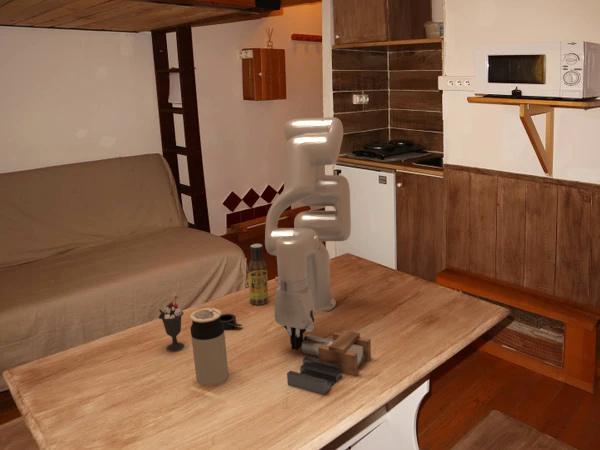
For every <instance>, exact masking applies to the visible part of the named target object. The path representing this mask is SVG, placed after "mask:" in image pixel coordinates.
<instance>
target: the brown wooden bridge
mask: <svg viewBox="0 0 600 450" xmlns="http://www.w3.org/2000/svg"><path fill="white" fill-rule="evenodd" d="M360 334H361V333H360V332H356V331H355V332H354V331H351V330H344V331H343V332H339V331H334V332H333V334H332V339H333V340H335V341H334V342H333V343H332V344H331V345H330V346H329V347H328V346H323V345H321V346H319V347H318V353H319V356H318V359H319V360H323V361H327V362H331V363H335V364H339V365H342V375H348V376H351V377H356V376H357V375H358V374H359V373H360V372H361V371H362V370H363V368H364V367H366V365H367V364H368V363H369V361H370V360H371V359H372V351H371V350H372V347H371V346H372V345H371V341H372V339H371V338H367V337H363V336H362V337H361V335H360ZM352 344H356V345H360V346H364V347H365V349H366V356H365V360H364V363H363V365H362V366H358V360H357V353H354V352H349V351H346V350H347V349H348V348H349V347H350V346H351V345H352Z"/></svg>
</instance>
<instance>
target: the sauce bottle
mask: <svg viewBox="0 0 600 450" xmlns="http://www.w3.org/2000/svg"><path fill="white" fill-rule="evenodd" d="M249 248H250V249H249V250H250V255H251V256H250V260H249V262H248V265H247V268H248V272H247V275H248V276H247V277H248V291H249V293H248V294H249V302H250V303H251V304H252V305H257V306H258V305H259V306H261V305H264V304H267V303H268V301H269V299H268V298H269V286H268V270H267V263H266V261H265V260H264V257H263V250H264V247H263V244H261V243H253V244H251V245H250V247H249Z"/></svg>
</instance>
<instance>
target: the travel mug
mask: <svg viewBox="0 0 600 450" xmlns="http://www.w3.org/2000/svg"><path fill="white" fill-rule="evenodd" d="M221 315H222V311H221V310H220V309H218V308H215V307H205V308H200V309H197V310H195V311H193V312H192V313H191V314H190V316H189V319H190V320H191V322H192V324H191V326H190V328H189V330H190V336H191V337H190V338H191V344H192V353H193V360H194V361H193V362H194V369H195V377H196V378H195V379H196V382H197V383H198V384H200V385H201V386H206V387H207V386H208V387H210V386H216V385H219V384H222V383H224V382H225V381H227V379H228V378H229V375H230V374H229V365H228V364H229V363H228V356H227V346H226V335H225V334H226V333H225V330H224V324H223V322H222V321H221V320H220V316H221Z"/></svg>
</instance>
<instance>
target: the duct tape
mask: <svg viewBox="0 0 600 450" xmlns="http://www.w3.org/2000/svg"><path fill="white" fill-rule="evenodd" d="M220 320H221V321H222V322H223V324H224V331H229V330H230V331H231V330H233V329H235V328H236V327H242V326H243V324H241V323H237V318H236V315H235V314H232V313H225V314H221V316H220Z"/></svg>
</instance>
